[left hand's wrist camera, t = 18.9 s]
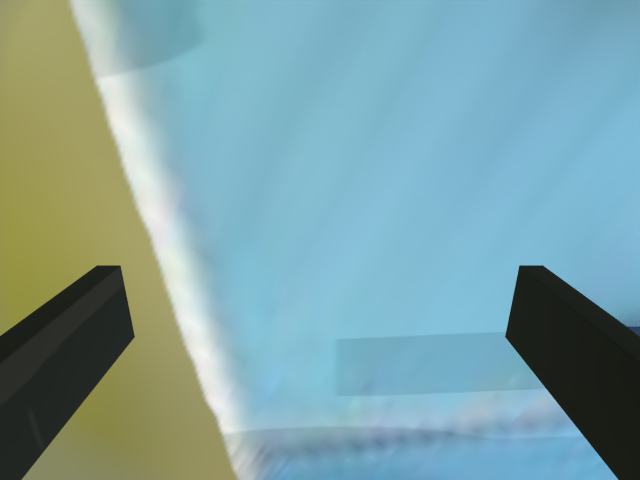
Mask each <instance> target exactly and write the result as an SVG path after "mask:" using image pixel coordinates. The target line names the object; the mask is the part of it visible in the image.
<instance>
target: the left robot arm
mask: <svg viewBox="0 0 640 480" xmlns="http://www.w3.org/2000/svg"><path fill="white" fill-rule="evenodd" d="M134 337H135V336H134V331H133V326H132V321H131V316H130V311H129V306H128V301H127V297H126V291H125V286H124V281H123V276H122V271H121V266H96V267H95V268H93V269H92V270H91V271H89V272H88V273H86V274H85V275H84V276H82V277H81V278H79V279H78V280H77V281H75V282H74V283H73V284H71V285H70V286H69V287H67V288H66V289H64V290H63V291H62V292H60V293H59V294H58V295H56V296H55V297H53V298H52V299H51V300H49V301H48V302H46V303H45V304H44V305H42V306H41V307H40V308H38V309H37V310H36V311H34V312H33V313H31V314H30V315H29V316H27V317H26V318H25V319H23V320H22V321H20V322H19V323H18V324H16V325H15V326H14V327H12V328H11V329H9V330H8V331H7V332H5V333H4V334H3V335H1V336H0V480H22V478H23V477H24V476H25V475H26V473H27V472H28V471H29V469H30V468H31V467H32V466H33V464H34V463H35V462H36V461H37V459H38V458H39V457H40V456H41V454H42V453H43V452H44V451H45V449H46V448H47V447H48V445H49V444H50V443H51V442H52V440H53V439H54V438H55V437H56V435H57V434H58V433H59V432H60V430H61V429H62V428H63V427H64V425H65V424H66V423H67V422H68V420H69V419H70V418H71V417H72V415H73V414H74V413H75V411H76V410H77V409H78V408H79V406H80V405H81V404H82V403H83V401H84V400H85V399H86V398H87V396H88V395H89V394H90V392H91V391H92V390H93V389H94V388H95V386H96V385H97V384H98V382H99V381H100V380H101V379H102V377H103V376H104V375H105V374H106V372H107V371H108V370H109V369H110V367H111V366H112V365H113V364H114V362H115V361H116V360H117V359H118V357H119V356H120V355H121V353H122V352H123V351H124V350H125V348H126V347H127V346H128V345H129V343H130V342H131V341H132V340H133V338H134ZM505 337H506V338H507V340H508V341H509V342H510V343H511V345H512V346H513V347H514V348H515V350H516V351H517V352H518V354H519V355H520V356H521V357H522V359H523V360H524V361H525V362H526V364H527V365H528V366H529V367H530V369H531V370H532V371H533V372H534V374H535V375H536V376H537V377H538V379H539V380H540V381H541V382H542V384H543V385H544V386H545V388H546V389H547V390H548V391H549V393H550V394H551V395H552V396H553V398H554V399H555V400H556V401H557V403H558V404H559V405H560V406H561V408H562V409H563V410H564V411H565V413H566V414H567V415H568V417H569V418H570V419H571V420H572V422H573V423H574V424H575V425H576V427H577V428H578V429H579V430H580V432H581V433H582V434H583V435H584V437H585V438H586V439H587V440H588V442H589V443H590V444H591V446H592V447H593V448H594V449H595V451H596V452H597V453H598V454H599V456H600V457H601V458H602V459H603V461H604V462H605V463H606V464H607V466H608V467H609V468H610V469H611V471H612V472H613V473H614V475H615V476H616V477H617V478H618V480H640V336H639V335H637V334H636V333H635V332H633V331H632V330H631V329H629V328H628V327H626V326H625V325H624V324H622V323H621V322H620V321H618V320H617V319H615V318H614V317H613V316H611V315H610V314H609V313H607V312H606V311H605V310H603V309H602V308H600V307H599V306H598V305H596V304H595V303H594V302H592V301H591V300H589V299H588V298H587V297H585V296H584V295H583V294H581V293H580V292H578V291H577V290H576V289H574V288H573V287H572V286H570V285H569V284H567V283H566V282H565V281H563V280H562V279H561V278H559V277H558V276H556V275H555V274H554V273H552V272H551V271H550V270H548V269H547V268H545V267H544V266H519V271H518V276H517V281H516V286H515V291H514V296H513V301H512V306H511V311H510V316H509V321H508V326H507V331H506V336H505Z"/></svg>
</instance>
